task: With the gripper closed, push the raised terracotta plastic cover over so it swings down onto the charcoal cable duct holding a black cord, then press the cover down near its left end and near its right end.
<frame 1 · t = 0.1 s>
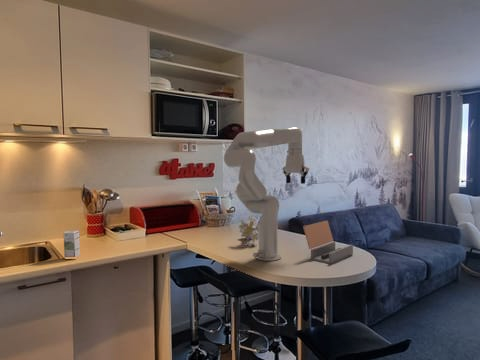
hand: (295, 183, 186), 37 cm above the breakfast bar, tool pointing down, fingers open, 9 cm apart
patch cord: (332, 257, 170), resting on cable duct
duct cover: (318, 233, 175), point 11 cm above the breakfast bar, hinge at 108.0°
cable duct: (332, 257, 170), on the breakfast bar
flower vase: (249, 242, 206), on the breakfast bar
syrup box: (72, 258, 177), on the breakfast bar
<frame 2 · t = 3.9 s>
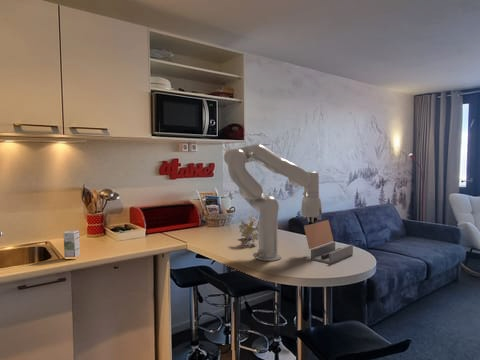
hand: (312, 229, 178), 12 cm above the breakfast bar, tool pointing down, fingers closed
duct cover: (319, 233, 175), point 11 cm above the breakfast bar, hinge at 105.1°, touching gripper
everything else where it was.
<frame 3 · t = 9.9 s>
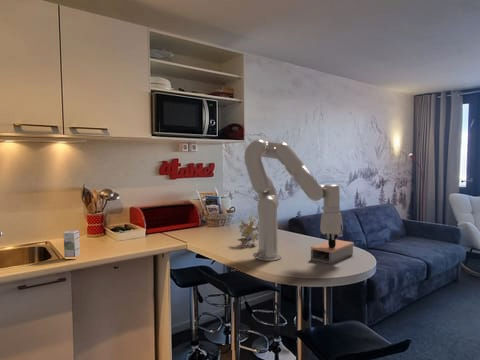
hand: (332, 247, 164), 6 cm above the breakfast bar, tool pointing down, fingers closed
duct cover: (332, 245, 169), point 6 cm above the breakfast bar, hinge at -0.2°, touching gripper
everything else where it was.
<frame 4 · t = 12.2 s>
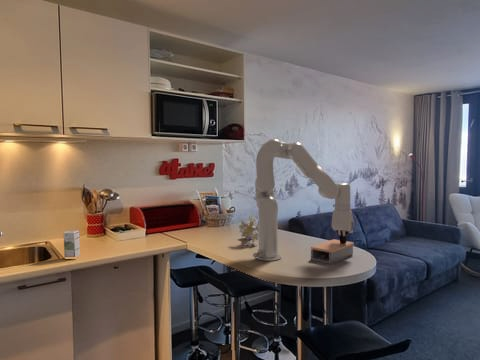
hand: (343, 243, 172), 6 cm above the breakfast bar, tool pointing down, fingers closed
nothing on the breakfast bar moved.
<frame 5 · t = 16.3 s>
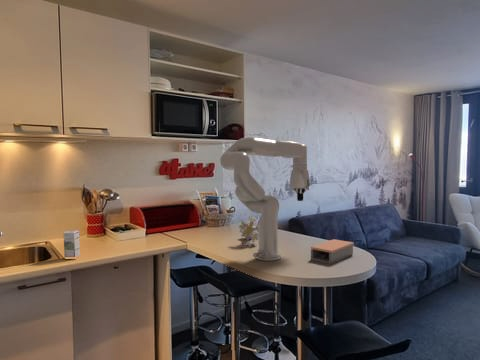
hand: (300, 200, 185), 27 cm above the breakfast bar, tool pointing down, fingers closed
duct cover: (332, 245, 169), point 6 cm above the breakfast bar, hinge at -0.3°
everything else where it was.
at the end: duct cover at +0° (first picture: +108°) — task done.
